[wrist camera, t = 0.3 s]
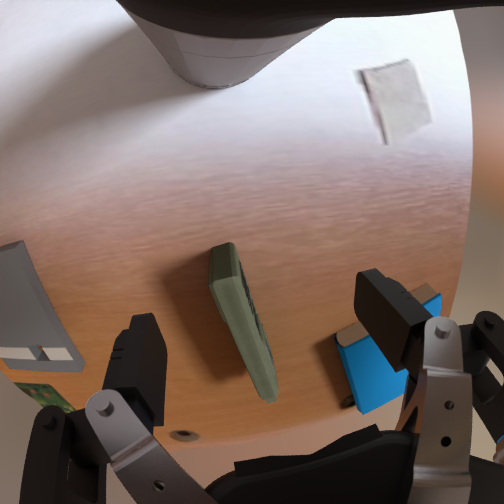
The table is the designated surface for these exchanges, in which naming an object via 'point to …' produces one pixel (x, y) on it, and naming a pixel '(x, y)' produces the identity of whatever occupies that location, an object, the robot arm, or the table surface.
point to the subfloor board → (30, 319)
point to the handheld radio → (242, 318)
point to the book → (376, 359)
